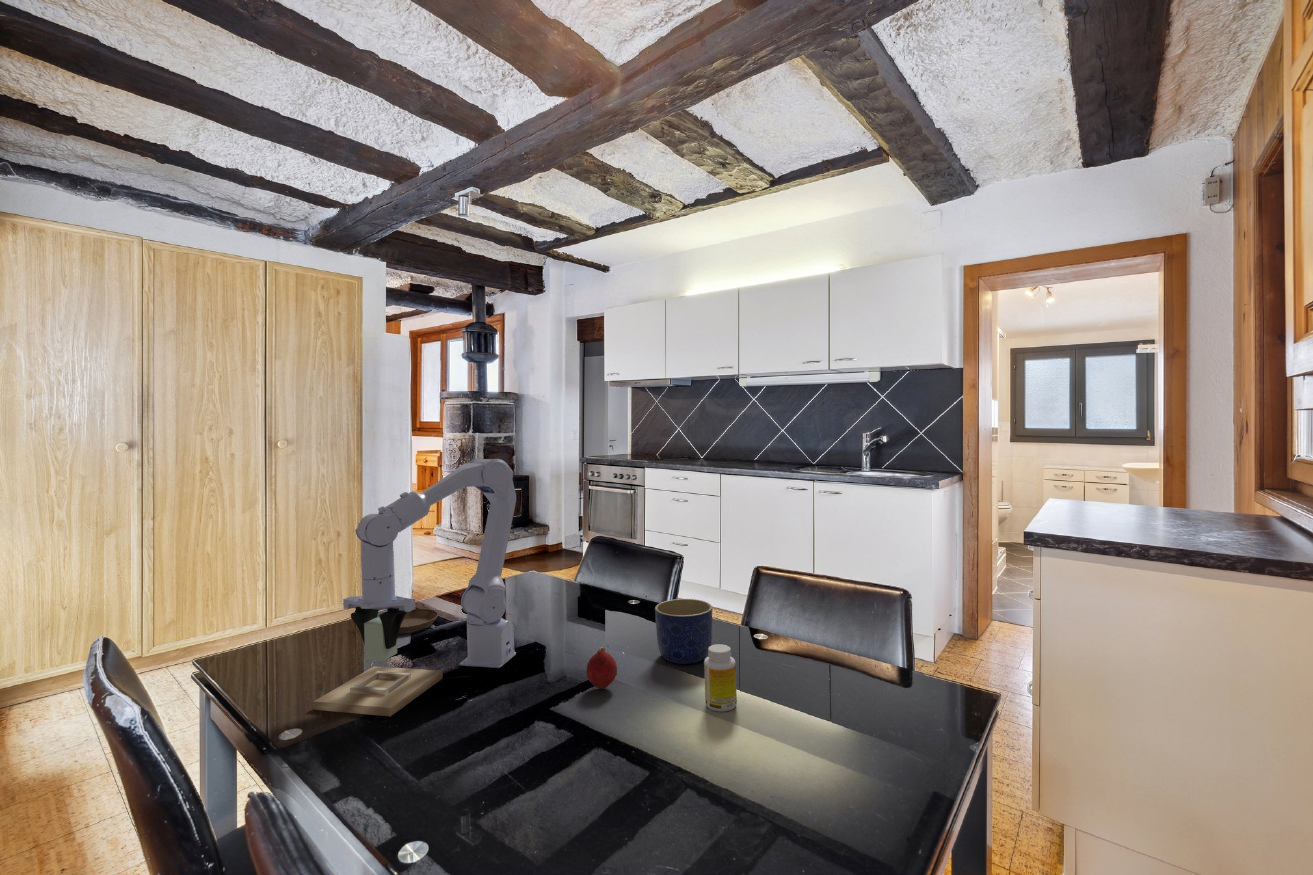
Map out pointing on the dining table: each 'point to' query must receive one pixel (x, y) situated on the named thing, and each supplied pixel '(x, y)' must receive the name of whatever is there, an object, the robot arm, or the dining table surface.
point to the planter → (684, 630)
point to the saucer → (417, 620)
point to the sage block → (376, 641)
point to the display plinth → (378, 691)
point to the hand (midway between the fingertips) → (380, 646)
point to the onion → (601, 669)
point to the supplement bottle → (720, 679)
